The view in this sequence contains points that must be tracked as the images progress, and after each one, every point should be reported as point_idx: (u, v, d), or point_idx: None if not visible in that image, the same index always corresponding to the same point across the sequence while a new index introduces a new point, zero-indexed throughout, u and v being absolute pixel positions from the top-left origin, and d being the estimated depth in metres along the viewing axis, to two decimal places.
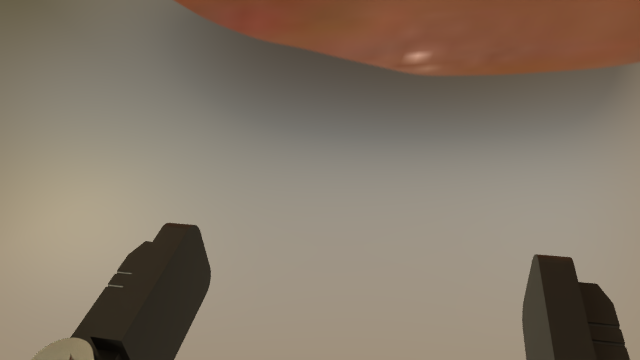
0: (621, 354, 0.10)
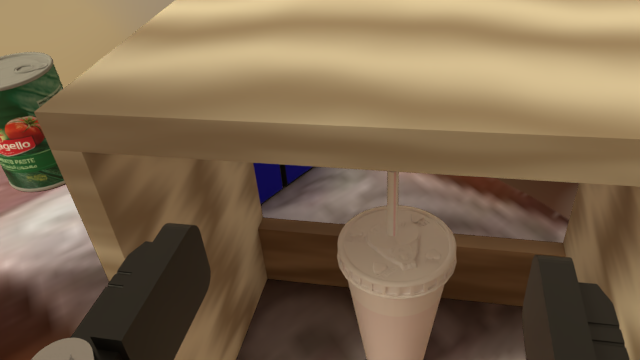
0: (621, 354, 0.10)
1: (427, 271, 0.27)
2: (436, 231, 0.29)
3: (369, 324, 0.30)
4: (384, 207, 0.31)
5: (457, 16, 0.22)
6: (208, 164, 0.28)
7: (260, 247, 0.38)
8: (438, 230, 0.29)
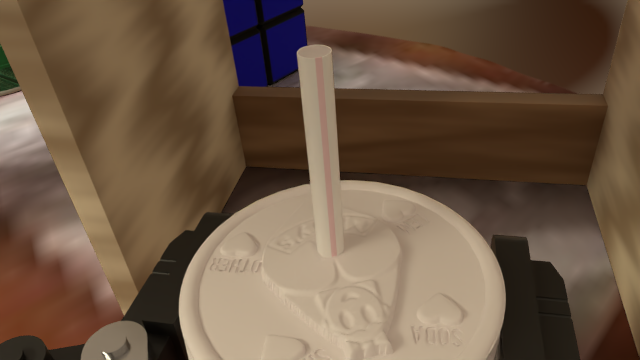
0: (566, 325, 0.10)
1: None
2: (447, 243, 0.11)
3: None
4: None
5: None
6: None
7: (236, 121, 0.32)
8: (452, 240, 0.11)
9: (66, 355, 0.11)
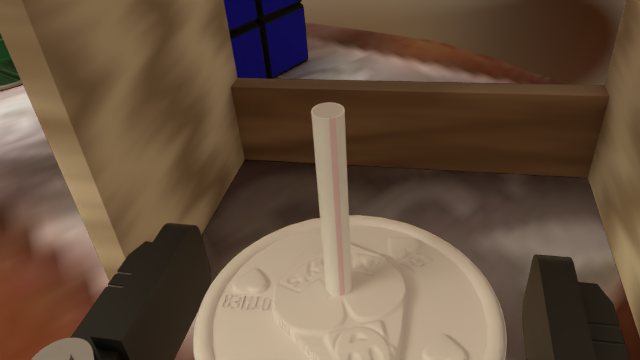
0: (621, 354, 0.10)
1: None
2: (450, 282, 0.11)
3: None
4: None
5: None
6: None
7: (234, 113, 0.32)
8: (455, 279, 0.12)
9: None
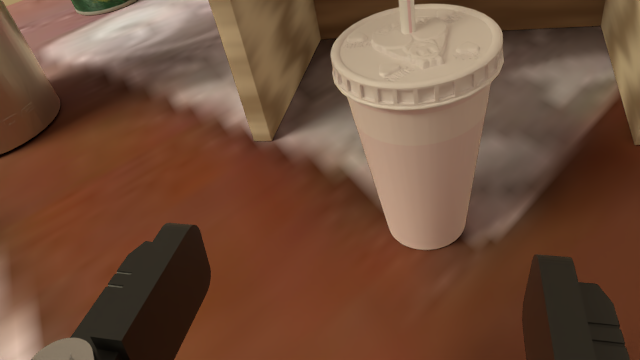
0: (621, 354, 0.10)
1: (459, 66, 0.18)
2: (472, 24, 0.20)
3: (384, 168, 0.22)
4: (398, 9, 0.22)
5: None
6: None
7: None
8: (475, 22, 0.20)
9: None
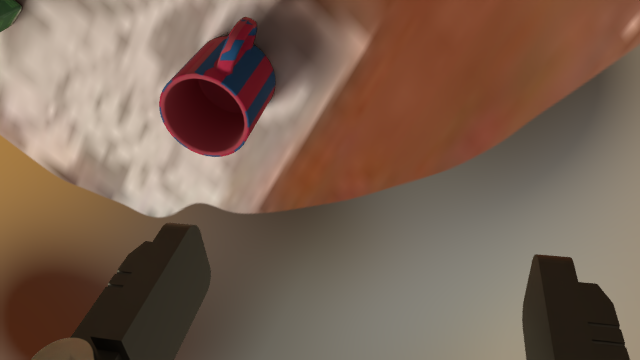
0: (621, 354, 0.10)
1: None
2: None
3: None
4: None
5: None
6: None
7: None
8: None
9: None
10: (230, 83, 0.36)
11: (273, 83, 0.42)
